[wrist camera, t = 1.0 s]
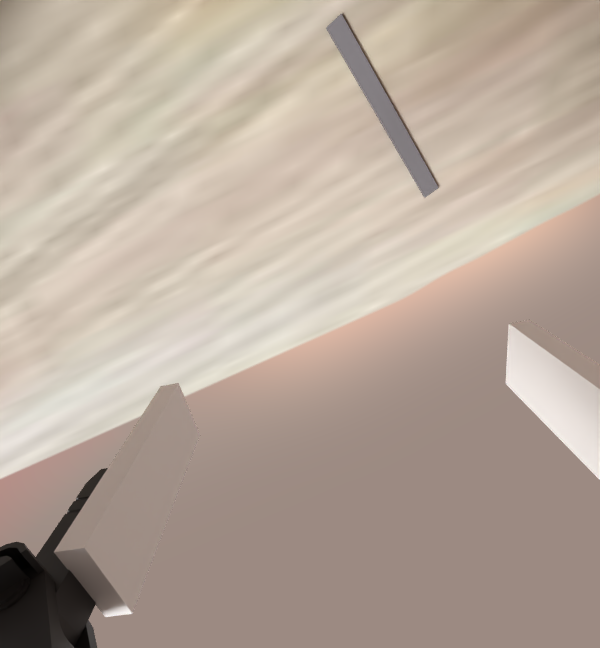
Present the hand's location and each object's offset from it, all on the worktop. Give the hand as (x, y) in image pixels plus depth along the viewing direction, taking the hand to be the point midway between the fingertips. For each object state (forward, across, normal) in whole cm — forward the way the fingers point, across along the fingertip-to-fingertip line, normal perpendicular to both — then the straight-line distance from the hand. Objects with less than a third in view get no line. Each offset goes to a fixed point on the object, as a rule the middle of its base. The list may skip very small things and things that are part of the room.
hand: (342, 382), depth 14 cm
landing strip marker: (+27, +9, +11) cm, 31 cm away
